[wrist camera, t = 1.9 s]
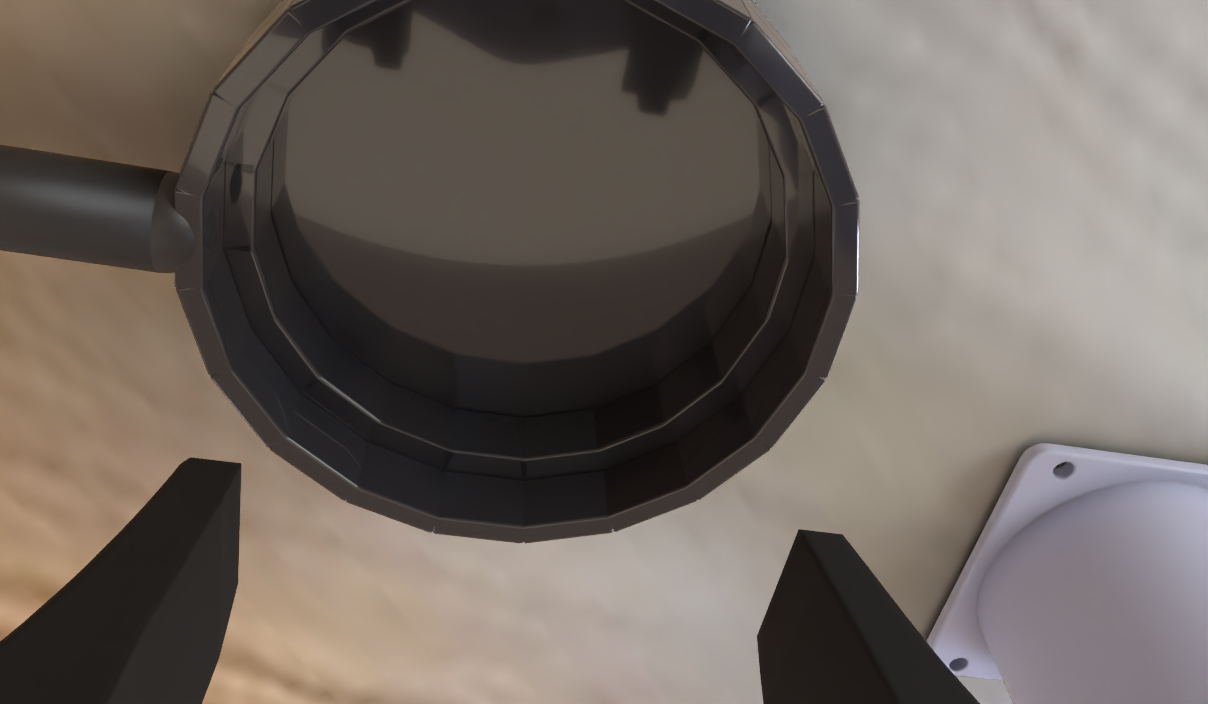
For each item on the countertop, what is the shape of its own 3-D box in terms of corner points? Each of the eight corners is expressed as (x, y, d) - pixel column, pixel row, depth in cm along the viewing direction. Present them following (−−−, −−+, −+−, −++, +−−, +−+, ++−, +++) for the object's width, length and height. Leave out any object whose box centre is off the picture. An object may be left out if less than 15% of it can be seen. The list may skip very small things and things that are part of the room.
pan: (899, -37, 21) (961, 20, 18) (731, 466, 27) (756, 570, 24) (227, -173, 19) (169, -134, 16) (219, 401, 25) (176, 506, 22)
